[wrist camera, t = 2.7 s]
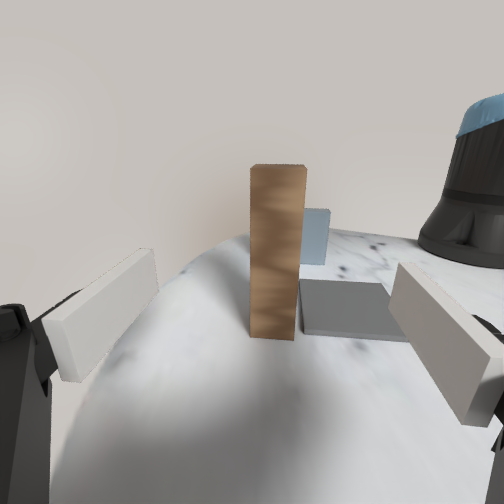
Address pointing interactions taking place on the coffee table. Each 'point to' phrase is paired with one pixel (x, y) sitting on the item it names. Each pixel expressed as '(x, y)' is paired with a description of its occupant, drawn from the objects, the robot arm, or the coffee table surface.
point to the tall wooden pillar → (275, 247)
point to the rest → (348, 310)
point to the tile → (314, 236)
